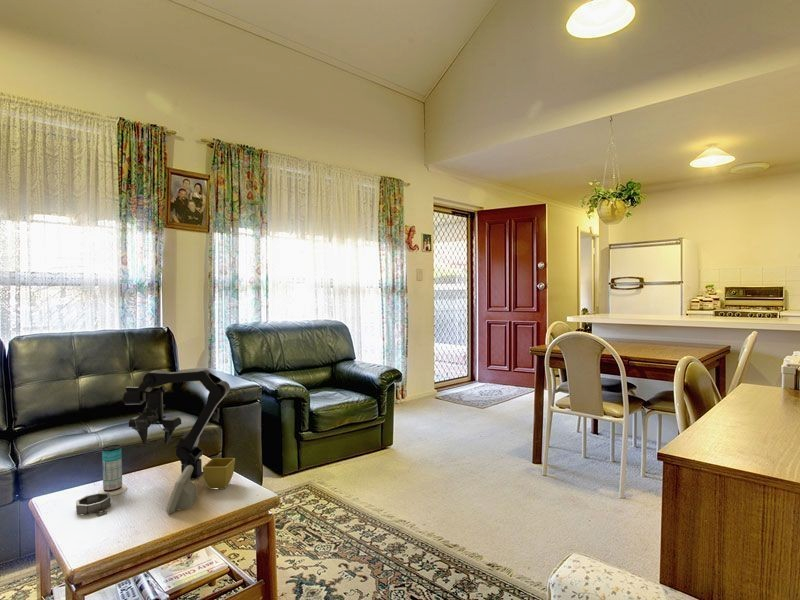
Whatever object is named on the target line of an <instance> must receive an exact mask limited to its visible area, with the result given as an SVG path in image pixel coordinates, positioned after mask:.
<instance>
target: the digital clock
mask: <svg viewBox="0 0 800 600" xmlns="http://www.w3.org/2000/svg"><path fill="white" fill-rule="evenodd" d="M193 469H194V468H193V466H192V465H189V466H187V467H186V468H185V469H184V471H183V472H182V474H181V473H180V475H179V477H178V478H177V480H176V482H175V484H174V486H173V489H172V492H171V495H170V497H169V500H168V503H167V505H166V509H165V512H166V514H168V515H170V514H174V513H175V511H179V510H178V509H181V510H188V509H187V508H190V509H191V508H192V506H193V505H194V503H195V501H196V499H197V498H198V492H197V491H198V489H197V484H196V483H194V482H193V481H192V479H190V477H191V475H192V472H193Z"/></svg>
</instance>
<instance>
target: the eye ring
mask: <svg viewBox="0 0 800 600" xmlns="http://www.w3.org/2000/svg"><path fill="white" fill-rule="evenodd" d="M111 497H112V496H110V493H98V492H97V493H93V494H89V495H85V496H83V497H81V498H79V499H77V500H76V501H75V504H76V506H75V507H76V508H75V510H76V515H77V514H84V515H83V516H89V514H90V515H93V514H95V515H96V516H98V517H100V516H103V515H106V514H108V511H106V510H107V509H108V508H110V507H111V506H112V505H111V504H112V503H111V500H112V499H111Z"/></svg>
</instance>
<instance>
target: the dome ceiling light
mask: <svg viewBox="0 0 800 600" xmlns="http://www.w3.org/2000/svg"><path fill="white" fill-rule="evenodd" d="M127 489H128V486H127V484H123V483H122V487H121V488H120V489H118V490H116V491H111V492H106V491H104V489H103V487H102V488H100V489H98V491H97V493H110V497H113V496H117V495H119V494H122V493H124V492H126V490H127Z"/></svg>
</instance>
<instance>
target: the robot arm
mask: <svg viewBox="0 0 800 600" xmlns="http://www.w3.org/2000/svg"><path fill="white" fill-rule="evenodd" d="M187 382H189V383H190V382H200V383H201V384H202V385H203V387H204V388H205V390H207V391H208V395H207V399H206V403H205V405H204V407H203V408H202V410H201V412H200V413H199V415H198V417H197V418H196V420H195V422H194V424H193V426H192V428H191V429H190V431H189V433H185V434H183V436H181V437H179V439H178V443H177V445H175V446H174V448H175V456H176V457H177V458H179V461H180V464H181V465H180V470H181V471H180V472H181V473H180V475H181V474H182V472H183V471H184V469H185V468H186V467H187V466H189V465H192V466H193V468H194V469H193V472H192V475H191V477H190V479H191V480H197V479H198V478H199V477H201V476H203V475H204V473H203V466H202V456H203V454H204V453H203V452H204V450H202V449H201V448H200V447H199V442H200V438H201V437H200V436H201V435H202V434H203V431H204V429H205V428H206V426H207V424H208V423H209V421H210V419H211V417H212V416H213V414H214V412H215V411H216V409H217V406H218V405H219V404H220V403H221V402H222V401H223V400H224V399H225V397H227V395H228V394H229V392H230V390H231V386H230V384H229V383H228V382H227V381H225V380H223V379H221V378H220V377H218V376H217V375H215V374H213V373H211V371H209V370H208V369H206V368H205V369H204V368H203V369H201V370H200V369H199V370H188V371H187V370H183V371H167V370H163V369H162V370H161V369H160V370H159V369H155V370H152V371H150V372H148V373H145V375H144V376H143V377H142V382H141V383H140V385H139V386H130V385H129V386H126V388H125V391H124V393H123V396H122V402H123V404H124V405H125V406H126V405H127V406H129V405H130V406H131V405H133V406H134V405H143V403H144V402H145V407H144V408H143V410H142V411H143V413H141V414H140V415H138V416H135V417H132V418H130V419H129V420H128V428H131V429H132V430H135V431H136V432H137V434H138V435H139V438H140V440H141V442H142V444H143V445H145V444H147V441H148V440H147V439H148V431H149V428H150V426H152V425H162V427H163V428H162V430H163V432H164V445H165V446H167V445H169V442H170V440H171V438H172V435H173V433H174V431H175V429H176V428H178V427H179V426H180V425H182V419H181V418H180V417H178V416H170V417H169V418H166V415H165V414H164V408H166V404H163V403H164V399H163V398H164V397H163V396H164V394H163V393H166V392H168V391H169V388H168V387H166V386H165V385H167V384H173V383H187ZM149 388H151V389H149ZM200 475H201V476H200Z"/></svg>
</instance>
